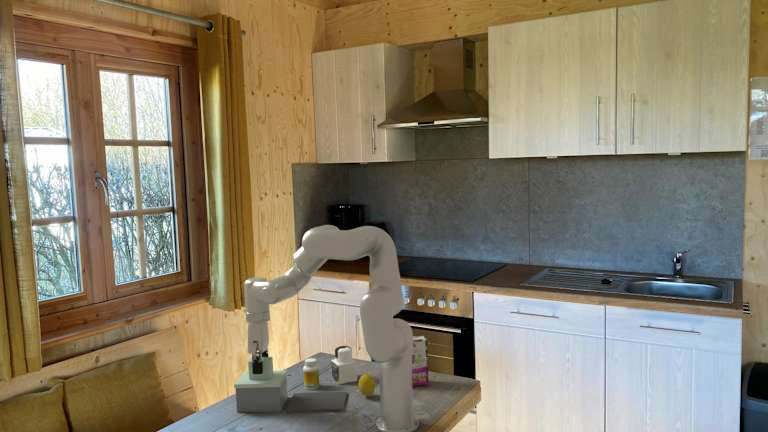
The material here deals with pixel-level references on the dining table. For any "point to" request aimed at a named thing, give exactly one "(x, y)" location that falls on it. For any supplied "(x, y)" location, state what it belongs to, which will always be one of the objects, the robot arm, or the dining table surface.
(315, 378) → the supplement bottle
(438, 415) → the dining table surface
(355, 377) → the medicine bottle
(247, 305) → the robot arm
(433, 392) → the dining table surface
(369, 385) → the lemon
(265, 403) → the storage box
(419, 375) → the candy bar box
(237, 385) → the lid
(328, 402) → the mat
